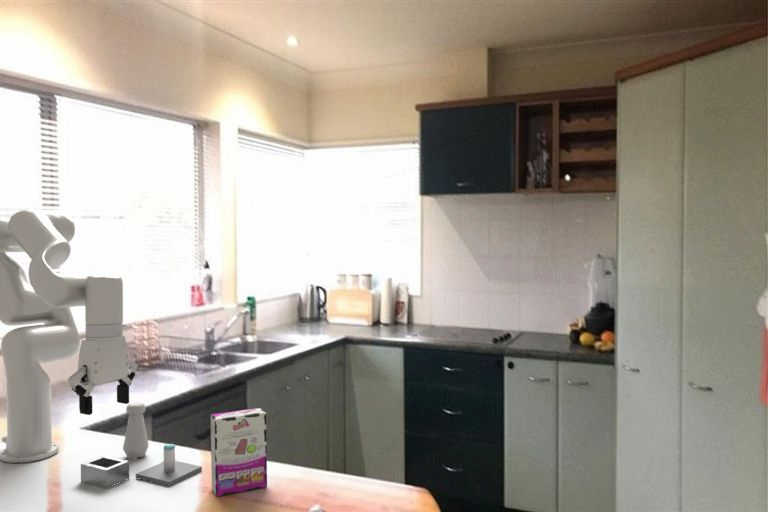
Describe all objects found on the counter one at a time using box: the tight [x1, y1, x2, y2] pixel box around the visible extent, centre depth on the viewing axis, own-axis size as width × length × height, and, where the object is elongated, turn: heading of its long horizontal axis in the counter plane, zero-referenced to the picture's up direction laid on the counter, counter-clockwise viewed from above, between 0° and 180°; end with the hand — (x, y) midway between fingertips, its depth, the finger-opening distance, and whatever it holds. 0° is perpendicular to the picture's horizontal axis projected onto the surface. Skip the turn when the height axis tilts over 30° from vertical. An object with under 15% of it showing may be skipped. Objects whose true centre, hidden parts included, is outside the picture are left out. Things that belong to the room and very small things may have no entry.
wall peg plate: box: [135, 443, 203, 487], centre depth 141 cm, size 10×10×7 cm
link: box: [80, 455, 130, 489], centre depth 138 cm, size 8×6×4 cm
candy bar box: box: [210, 407, 268, 497], centre depth 134 cm, size 11×5×16 cm, turn 118°
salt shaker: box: [122, 401, 149, 459], centre depth 153 cm, size 6×6×13 cm
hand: (105, 408), depth 137 cm, fingers open, 9 cm apart
